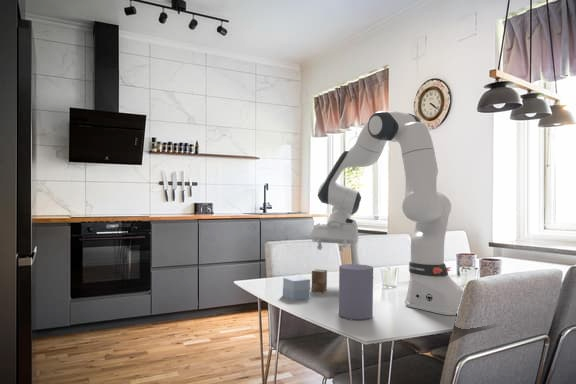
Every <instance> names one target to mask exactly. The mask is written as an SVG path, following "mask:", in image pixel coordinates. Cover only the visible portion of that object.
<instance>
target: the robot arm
mask: <svg viewBox="0 0 576 384" xmlns="http://www.w3.org/2000/svg"><path fill="white" fill-rule="evenodd" d="M387 142H392V143H396V142H397V143H398V144H399V146H400V150H401V151H400V152H401V157H402V162H403V170H404V176H405V187H404V188H405V189H404V191H405V192H404V199H403V201H402V205H401V206H402V207H401V209H402V212H403V214H404V215H405V217H406V218H407V219H408V220H410V221H412V222H414V223H415V227H414V231H413V233H412V236H411V238H410V261H409V264H408V272H409V280H408V289H407V292H406V297H405V300H404V303H405V306H406V307H409V308H413V309H417V310H422V311H427V312H432V313H436V314H440V315H444V316H445V315H446V316H457V315H456V314H457V311H458V307H459V304H460V301H461V297H462V294H463V291H464V290H463V289H462V288H461V286H459V285H458V284H457V283H456V282H455V280H453V279H452V278H451V277H450V276H449V273H448V272H450V271H452V270H451V268H452V267H450V266H449V267H447V266H446V263H445V238H446V234H447V233H446V232H447V229H448V223H449V217H450V213H451V211H452V203H451V201H450V199H449V198H448V197H447V195H445V194H443V193H442V192H440V191H438V190H437V178H438V174H439V169H438V163H437V157H436V152H435V147H434V143H433V142H434V141H433V140H432V136H431V133H430V130H429V128H428V126H427V125H426V124H425V123H424V122H422V121H421V119H420V118H419V117H418V116H416V115H414V114H412V113H406V112H400V111H392V110H390V111H386V110H380V111H377V112H374V113H373V114H372V115H370V116H369V119H368V120H367V121H366V123H365V124H364V126H363V128H362V129H361V131H360V133H359V135H358V137H357V139H356V142H355V143H354V145H353V146H352V147H351V148H349V149H345V150H344V151H343V152H342V153H341V154H340V156H339V157H338V158H337V160H336V162H335V164H334V165H333V167H332V169H331V170H330V171H329V173H328V175H327V177H326V178H325V180H324V181H323V182H322V183H321V184H320V186H319V189H318V192H317V197H318V199H319V201H320V202H321V203H322V204H325V205H326V204H327V205H329V206H330V205H331V206H332V208H331V214H330V215H329V216H328V217H329V218H328V220H327V222H326V223H317V224H315V225H313V228H312V231H311V233H310V236H309V237H310V239H311V241H312V242H313V243H317V246H316V248H317V250H318V251H319V250H320V251H321V250H322V249H323V246H322V245H323V244H322V243H324V244H340V245H339V248H338V251H339V252H344V250H345V249H346V248H347V247H348V246H349V245H354V246H355V245H357V244H358V242H359V241H358V240H359V233H358V232H359V229H358V228H359V226H358V224H357V221H356V220H355V219H352V218H351V217H352V215H354V214H357V212H358V210H359V207H360V203H361V201H362V196H361V194H360V192H359V191H358V190H357V189H354V188H352V187H347V186H345V185H343V184H339V183H337V181H338V179H339V177H340V175H341V174H342V172H343V171H344V170H345V169H347V168H355V167H356V168H365V167H370V166H373V165H374V164H375V163H377V162H378V160H379V158H380V157H381V155H382V153H383V150H384V148H385V145H386V143H387Z"/></svg>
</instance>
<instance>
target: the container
mask: <svg viewBox="0 0 576 384" xmlns="http://www.w3.org/2000/svg"><path fill="white" fill-rule="evenodd" d="M338 267H339V268H338V270H339V271H338V273H339V274H338V316H340V317H341V318H343V319H345V318H346V319H345V320H350V319H352V320H354V321H365V320H364V319H366V320H369V319H371V318H373V309H374V307H373V305H374V302H373V301H374V267H373V266H371V265H367V264H357V263H356V264H355V263H347V264H345V263H344V264H340V265H338ZM352 320H351V321H352Z"/></svg>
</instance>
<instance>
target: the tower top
mask: <svg viewBox="0 0 576 384" xmlns="http://www.w3.org/2000/svg"><path fill="white" fill-rule="evenodd" d="M282 285H283V286H282V289H283V288H286V289H289V290H292V291H299V290H307V289H310V290H311V279H309V278H307V277H303V276H289V277H283V283H282Z"/></svg>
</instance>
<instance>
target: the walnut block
mask: <svg viewBox="0 0 576 384" xmlns="http://www.w3.org/2000/svg"><path fill="white" fill-rule="evenodd" d="M327 271H328V270H327V269H326V270H325V269H317V268H316V269H314V270H311V293H317V292H318V294H319V293H320V294H324V293H325V291H326V292H327V291H328V289H327V287H328V286H327V284H328V282H327V281H328V276H327V275H328V272H327Z"/></svg>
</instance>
